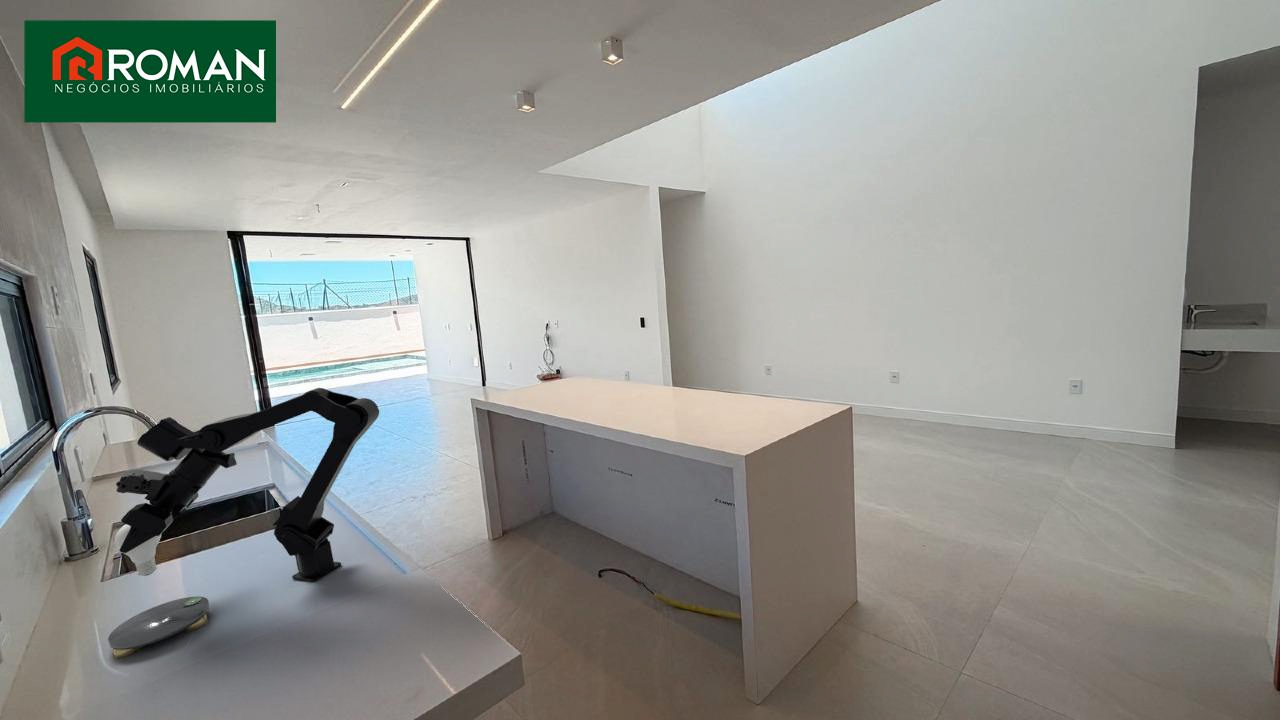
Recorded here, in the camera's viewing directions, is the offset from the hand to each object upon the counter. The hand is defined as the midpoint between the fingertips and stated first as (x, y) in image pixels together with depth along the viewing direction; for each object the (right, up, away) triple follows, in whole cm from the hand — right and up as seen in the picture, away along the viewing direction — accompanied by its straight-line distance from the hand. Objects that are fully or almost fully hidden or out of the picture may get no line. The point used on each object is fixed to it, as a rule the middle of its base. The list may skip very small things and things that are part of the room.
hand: (130, 544), depth 96 cm
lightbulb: (+2, -6, +2) cm, 7 cm away
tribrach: (+12, -13, -6) cm, 19 cm away
